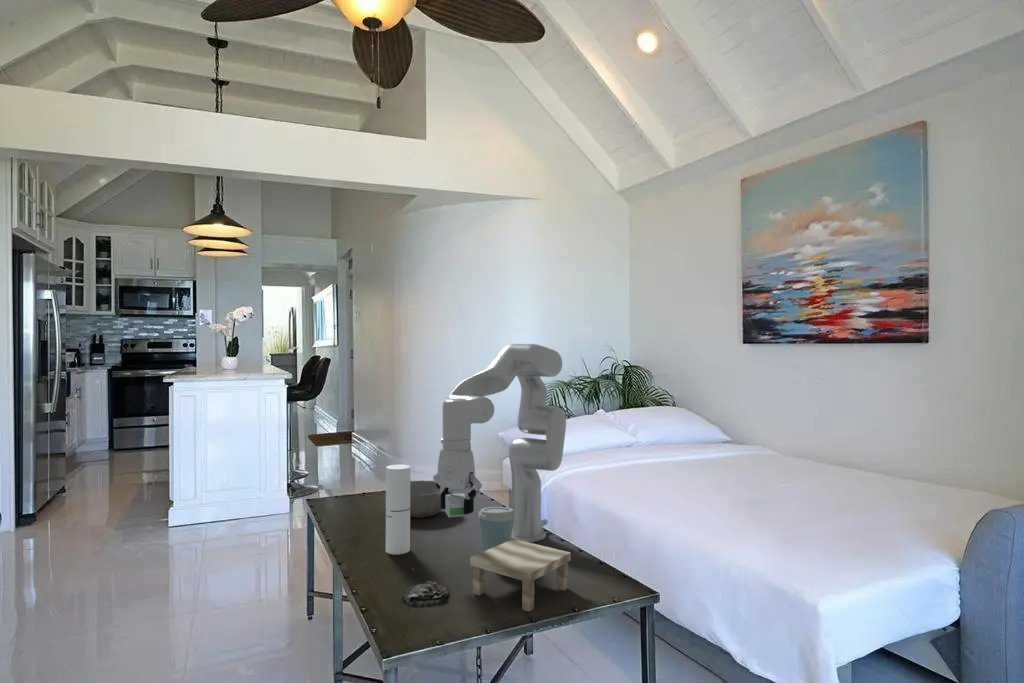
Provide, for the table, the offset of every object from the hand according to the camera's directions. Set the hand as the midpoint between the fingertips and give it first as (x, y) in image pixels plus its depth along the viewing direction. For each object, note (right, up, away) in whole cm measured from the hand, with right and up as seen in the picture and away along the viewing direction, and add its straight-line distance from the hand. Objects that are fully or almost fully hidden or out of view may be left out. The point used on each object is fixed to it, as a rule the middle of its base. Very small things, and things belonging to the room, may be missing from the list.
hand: (457, 510), depth 162 cm
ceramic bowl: (-18, -18, +58) cm, 63 cm away
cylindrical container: (-20, -18, +19) cm, 32 cm away
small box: (0, -1, 0) cm, 1 cm away
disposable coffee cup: (+10, -18, +10) cm, 23 cm away
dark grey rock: (-7, -18, -15) cm, 24 cm away
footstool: (+17, -17, -11) cm, 26 cm away
